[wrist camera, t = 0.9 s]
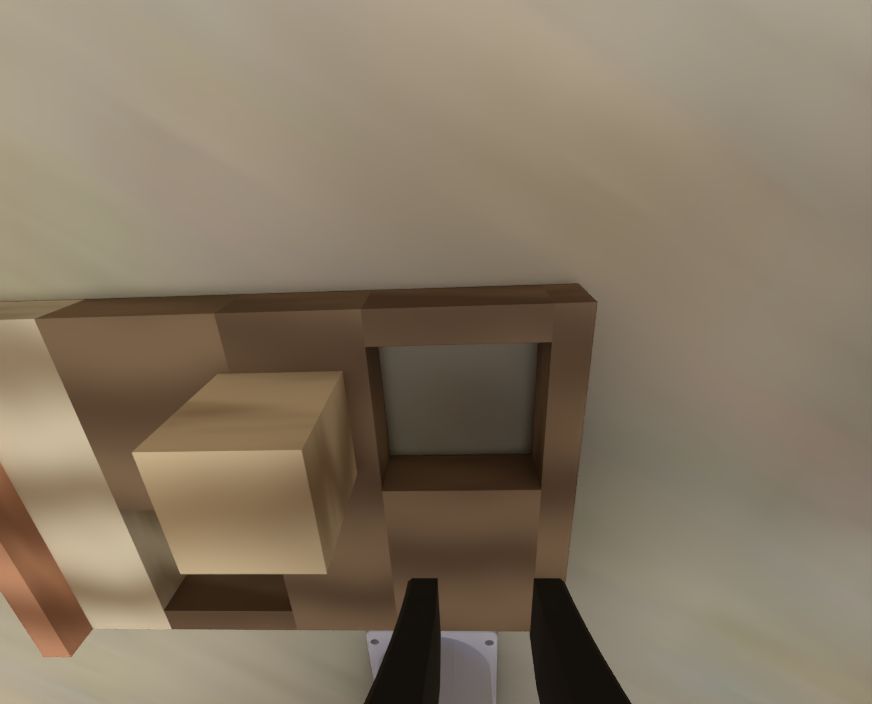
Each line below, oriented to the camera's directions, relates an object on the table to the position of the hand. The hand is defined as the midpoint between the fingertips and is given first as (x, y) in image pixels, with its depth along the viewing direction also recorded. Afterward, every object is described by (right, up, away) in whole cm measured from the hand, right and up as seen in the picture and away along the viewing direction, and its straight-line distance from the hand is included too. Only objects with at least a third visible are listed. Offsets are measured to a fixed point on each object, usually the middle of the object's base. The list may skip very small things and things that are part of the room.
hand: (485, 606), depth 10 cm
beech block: (-7, +3, +8) cm, 11 cm away
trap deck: (-8, 0, +12) cm, 14 cm away
